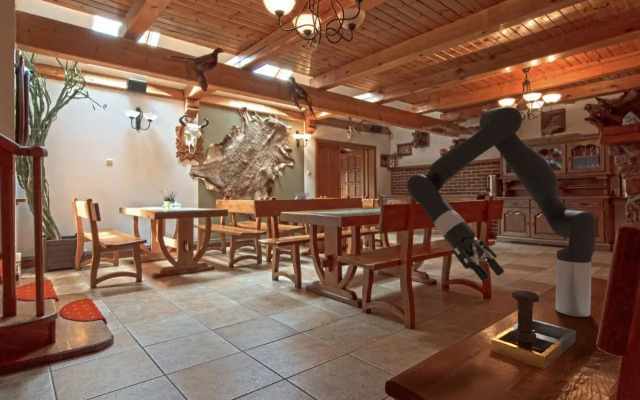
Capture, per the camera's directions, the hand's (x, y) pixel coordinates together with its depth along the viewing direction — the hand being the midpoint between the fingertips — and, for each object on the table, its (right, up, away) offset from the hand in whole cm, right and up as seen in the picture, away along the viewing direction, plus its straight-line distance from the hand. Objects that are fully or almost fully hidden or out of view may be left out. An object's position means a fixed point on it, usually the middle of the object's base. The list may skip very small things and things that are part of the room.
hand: (494, 276), depth 93 cm
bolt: (+5, -18, -5) cm, 20 cm away
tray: (+10, -18, -2) cm, 20 cm away
